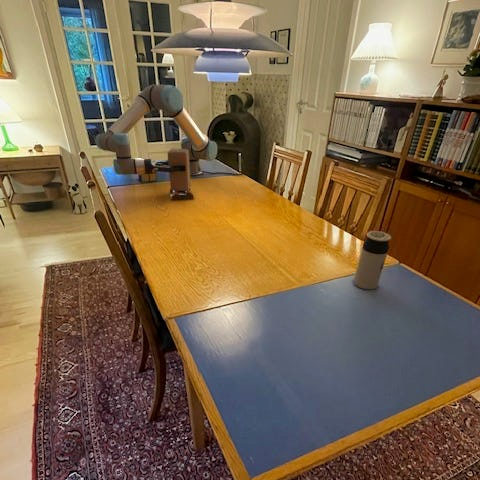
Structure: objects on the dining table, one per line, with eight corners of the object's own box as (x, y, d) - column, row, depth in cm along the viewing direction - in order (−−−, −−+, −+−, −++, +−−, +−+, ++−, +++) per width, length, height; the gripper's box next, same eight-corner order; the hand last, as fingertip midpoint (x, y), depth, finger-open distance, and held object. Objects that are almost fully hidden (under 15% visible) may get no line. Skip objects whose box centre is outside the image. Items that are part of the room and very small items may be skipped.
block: (188, 191, 190) (186, 152, 178) (170, 191, 190) (166, 151, 178) (190, 186, 198) (188, 148, 186) (173, 186, 198) (170, 148, 186)
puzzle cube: (138, 178, 225) (136, 162, 219) (153, 177, 228) (151, 161, 222) (141, 182, 218) (139, 165, 212) (157, 180, 221) (155, 164, 215)
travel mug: (349, 283, 119) (361, 234, 109) (360, 276, 124) (373, 228, 113) (370, 292, 115) (384, 242, 104) (381, 284, 119) (396, 235, 109)
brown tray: (190, 192, 203) (190, 185, 201) (193, 199, 192) (193, 192, 190) (170, 193, 200) (169, 186, 198) (171, 200, 190) (171, 192, 187)
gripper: (144, 168, 195) (182, 167, 199) (145, 179, 175) (187, 178, 180) (143, 154, 190) (181, 153, 195) (143, 164, 171) (186, 163, 175)
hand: (184, 165), depth 187 cm, fingers open, 13 cm apart
